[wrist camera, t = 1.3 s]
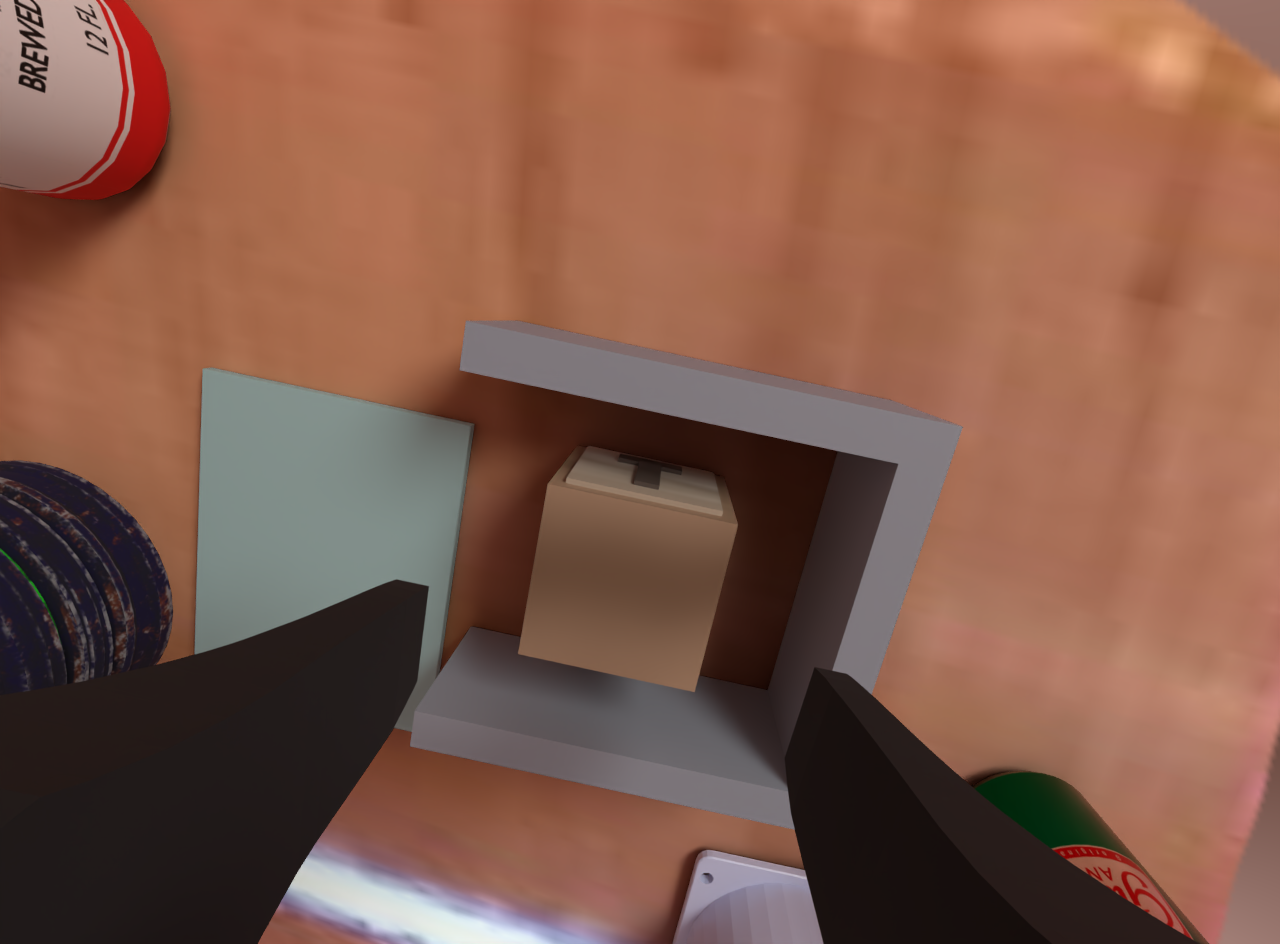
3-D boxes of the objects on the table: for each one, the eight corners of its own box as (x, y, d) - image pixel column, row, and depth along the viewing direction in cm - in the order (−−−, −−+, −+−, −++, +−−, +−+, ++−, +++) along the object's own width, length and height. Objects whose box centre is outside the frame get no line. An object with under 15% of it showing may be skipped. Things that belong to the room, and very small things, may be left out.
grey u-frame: (791, 725, 23) (823, 835, 18) (466, 655, 23) (410, 746, 18) (891, 400, 20) (962, 426, 15) (517, 320, 20) (465, 320, 15)
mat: (431, 728, 24) (427, 735, 23) (201, 678, 24) (193, 684, 23) (474, 424, 21) (470, 425, 20) (211, 367, 21) (202, 368, 20)
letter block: (690, 609, 22) (694, 692, 17) (552, 580, 22) (517, 653, 17) (725, 468, 21) (741, 514, 16) (579, 437, 21) (549, 473, 16)
